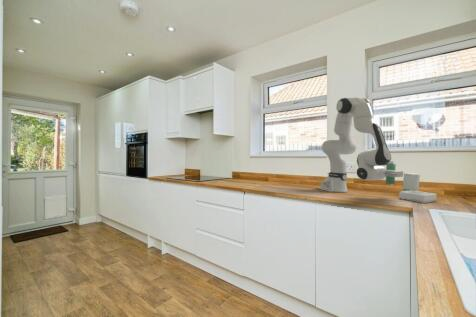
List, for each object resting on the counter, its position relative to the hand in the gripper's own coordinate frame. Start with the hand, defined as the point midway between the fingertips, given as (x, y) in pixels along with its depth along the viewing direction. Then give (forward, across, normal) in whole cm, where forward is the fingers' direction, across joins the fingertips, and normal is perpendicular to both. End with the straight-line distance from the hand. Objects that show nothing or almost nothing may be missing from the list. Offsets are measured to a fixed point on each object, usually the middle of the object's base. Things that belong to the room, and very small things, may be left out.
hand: (391, 172), depth 149 cm
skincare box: (+24, 0, +18) cm, 30 cm away
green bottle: (-1, 0, +8) cm, 8 cm away
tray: (+11, -10, +17) cm, 23 cm away
